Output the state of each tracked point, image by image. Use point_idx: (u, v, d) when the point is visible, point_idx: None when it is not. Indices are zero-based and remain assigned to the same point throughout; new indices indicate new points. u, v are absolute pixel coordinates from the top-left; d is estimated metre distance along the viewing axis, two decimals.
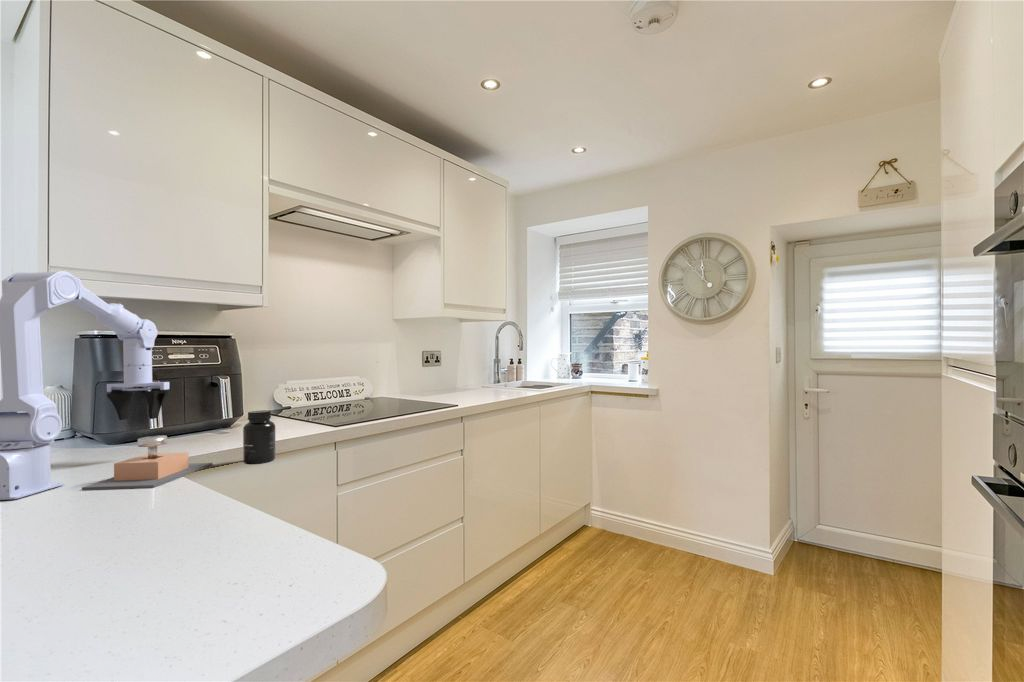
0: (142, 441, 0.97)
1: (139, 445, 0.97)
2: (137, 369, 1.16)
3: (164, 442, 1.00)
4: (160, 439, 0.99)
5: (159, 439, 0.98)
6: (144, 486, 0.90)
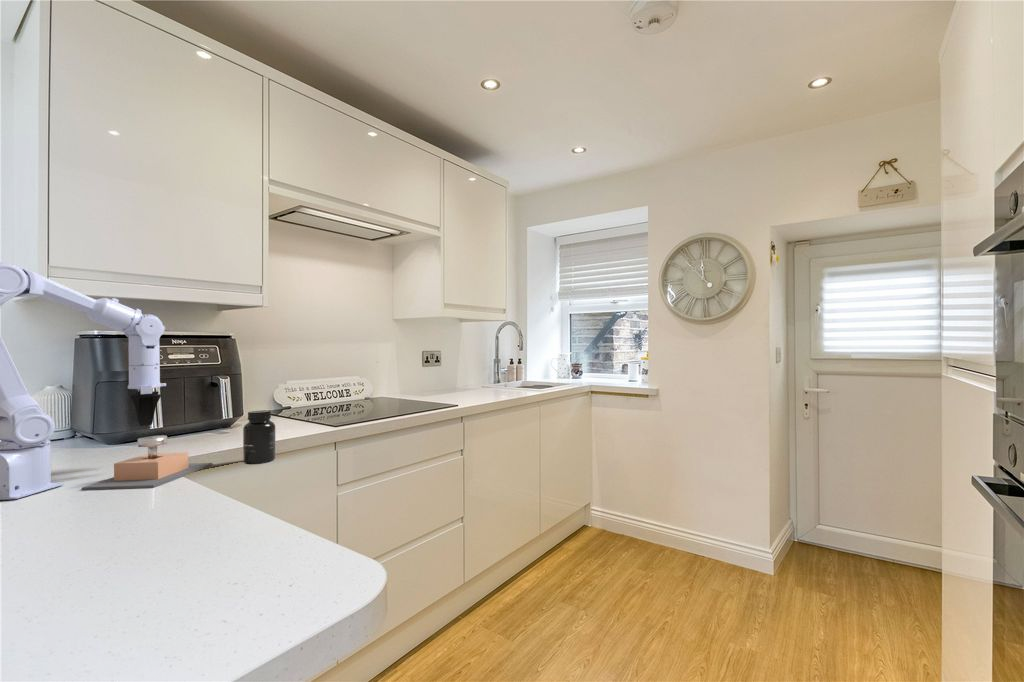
0: (142, 441, 0.97)
1: (139, 445, 0.97)
2: (132, 369, 1.06)
3: (164, 442, 1.00)
4: (160, 439, 0.99)
5: (159, 439, 0.98)
6: (144, 486, 0.90)
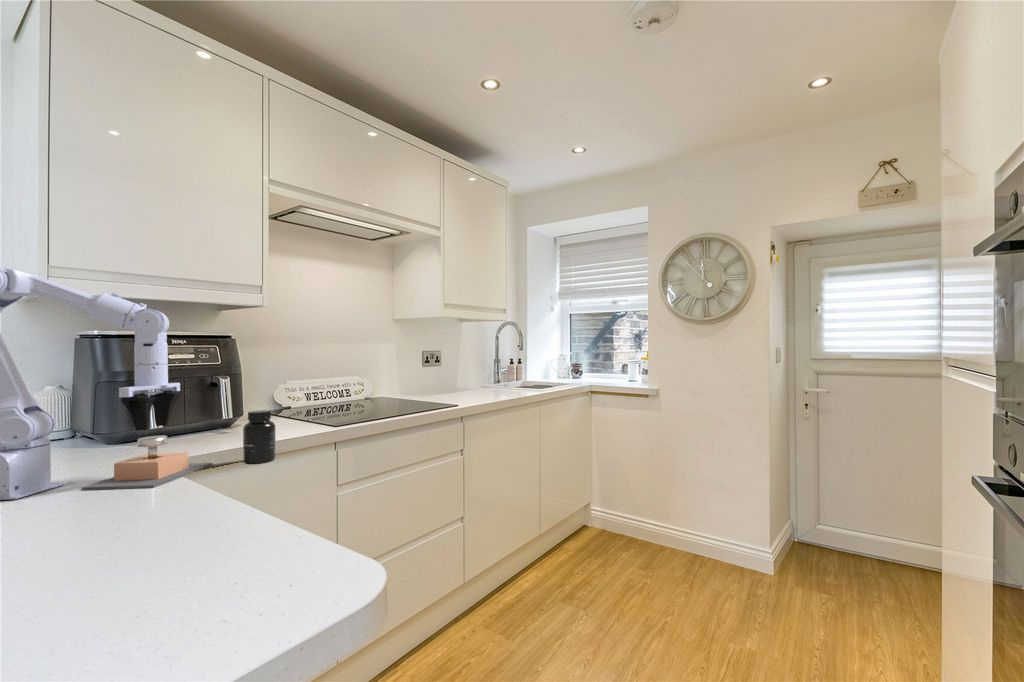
0: (142, 441, 0.97)
1: (139, 445, 0.97)
2: (134, 369, 0.98)
3: (164, 442, 1.00)
4: (160, 439, 0.99)
5: (159, 439, 0.98)
6: (144, 486, 0.90)
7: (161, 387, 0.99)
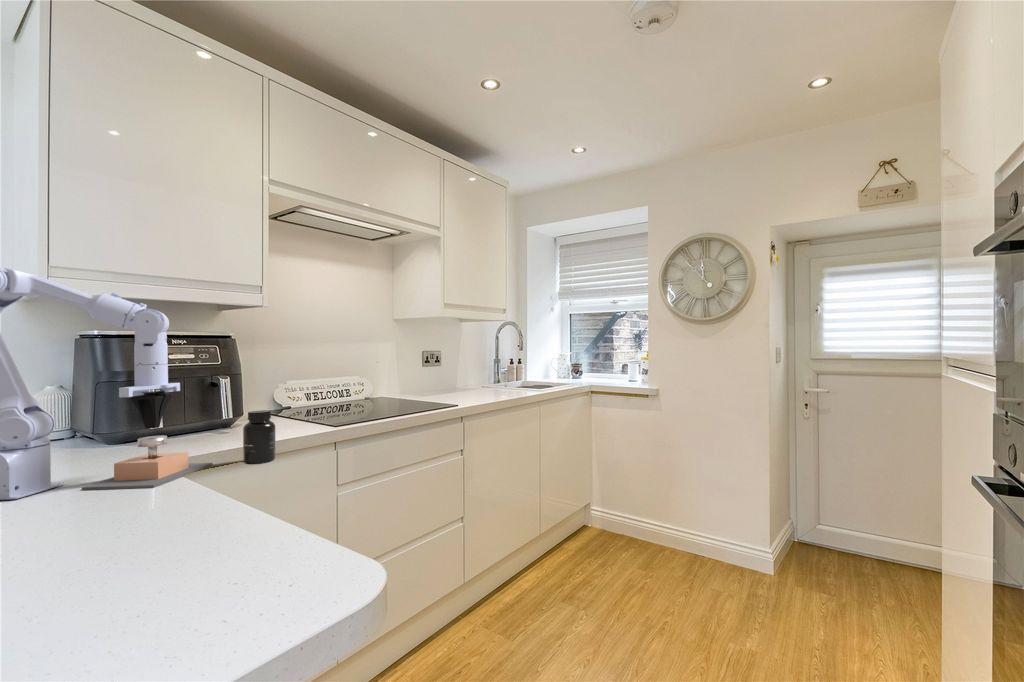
0: (142, 441, 0.97)
1: (139, 445, 0.97)
2: (134, 369, 0.98)
3: (164, 442, 1.00)
4: (160, 439, 0.99)
5: (159, 439, 0.98)
6: (144, 486, 0.90)
7: (161, 387, 0.99)
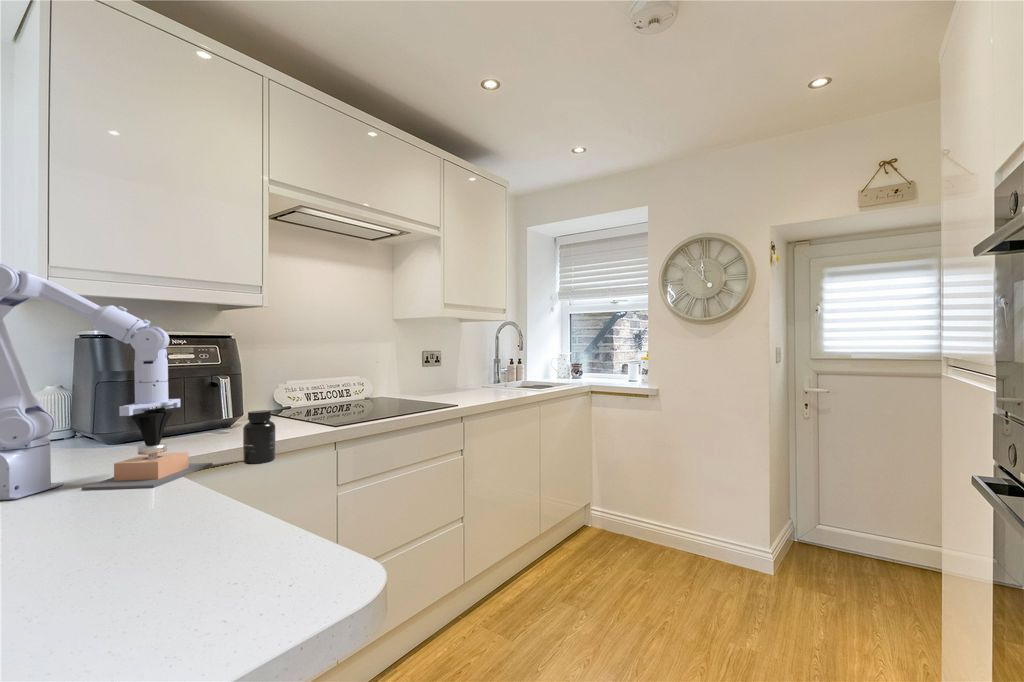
0: (142, 449, 0.97)
1: (139, 453, 0.97)
2: (135, 387, 0.98)
3: (164, 450, 1.00)
4: (160, 446, 0.99)
5: (159, 446, 0.98)
6: (144, 486, 0.90)
7: (161, 404, 0.99)
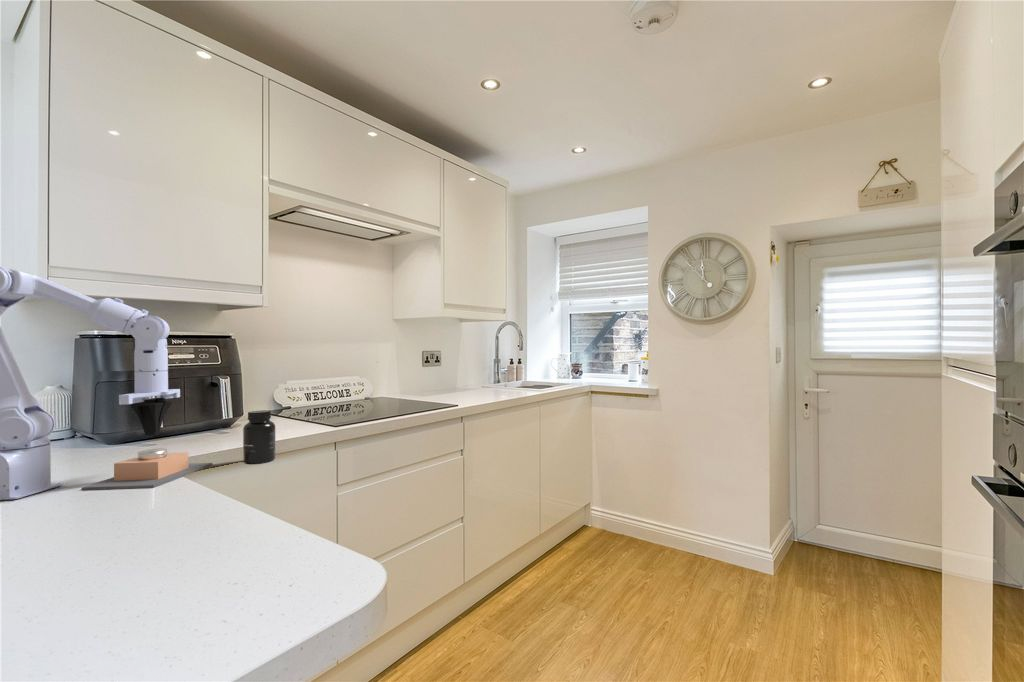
0: (142, 454, 0.97)
1: (139, 458, 0.97)
2: None
3: (165, 455, 1.00)
4: (160, 452, 0.99)
5: (159, 452, 0.98)
6: (144, 486, 0.90)
7: (161, 394, 0.99)
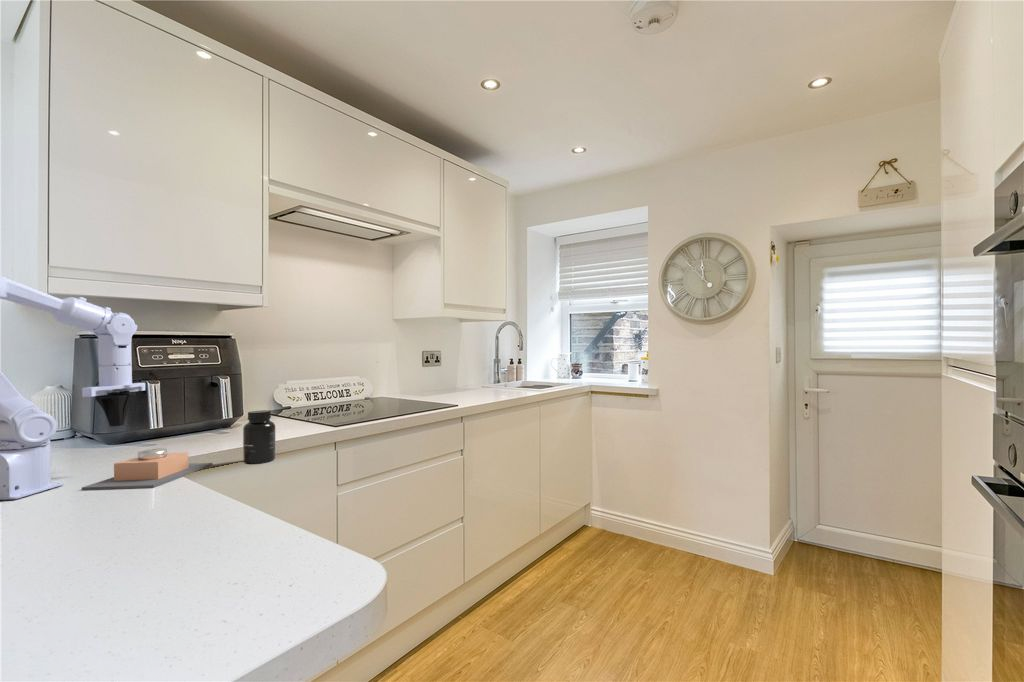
0: (142, 454, 0.97)
1: (139, 458, 0.97)
2: (99, 370, 1.03)
3: (165, 455, 1.00)
4: (160, 452, 0.99)
5: (159, 452, 0.98)
6: (144, 486, 0.90)
7: (124, 387, 1.04)
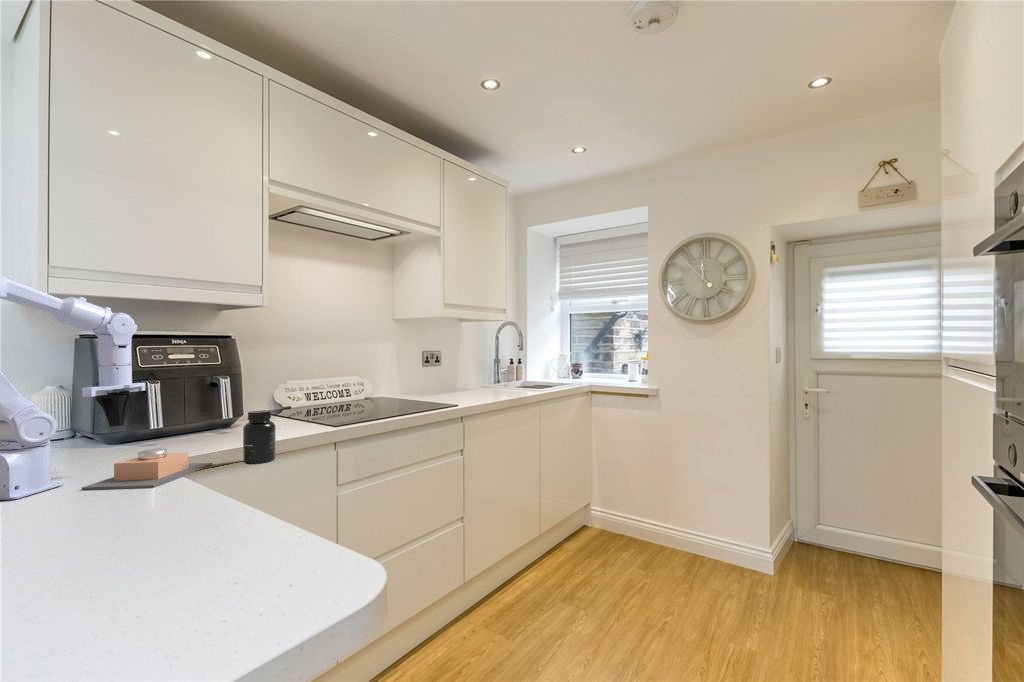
0: (142, 454, 0.97)
1: (139, 458, 0.97)
2: (99, 370, 1.03)
3: (165, 455, 1.00)
4: (160, 452, 0.99)
5: (159, 452, 0.98)
6: (144, 486, 0.90)
7: (124, 387, 1.04)
